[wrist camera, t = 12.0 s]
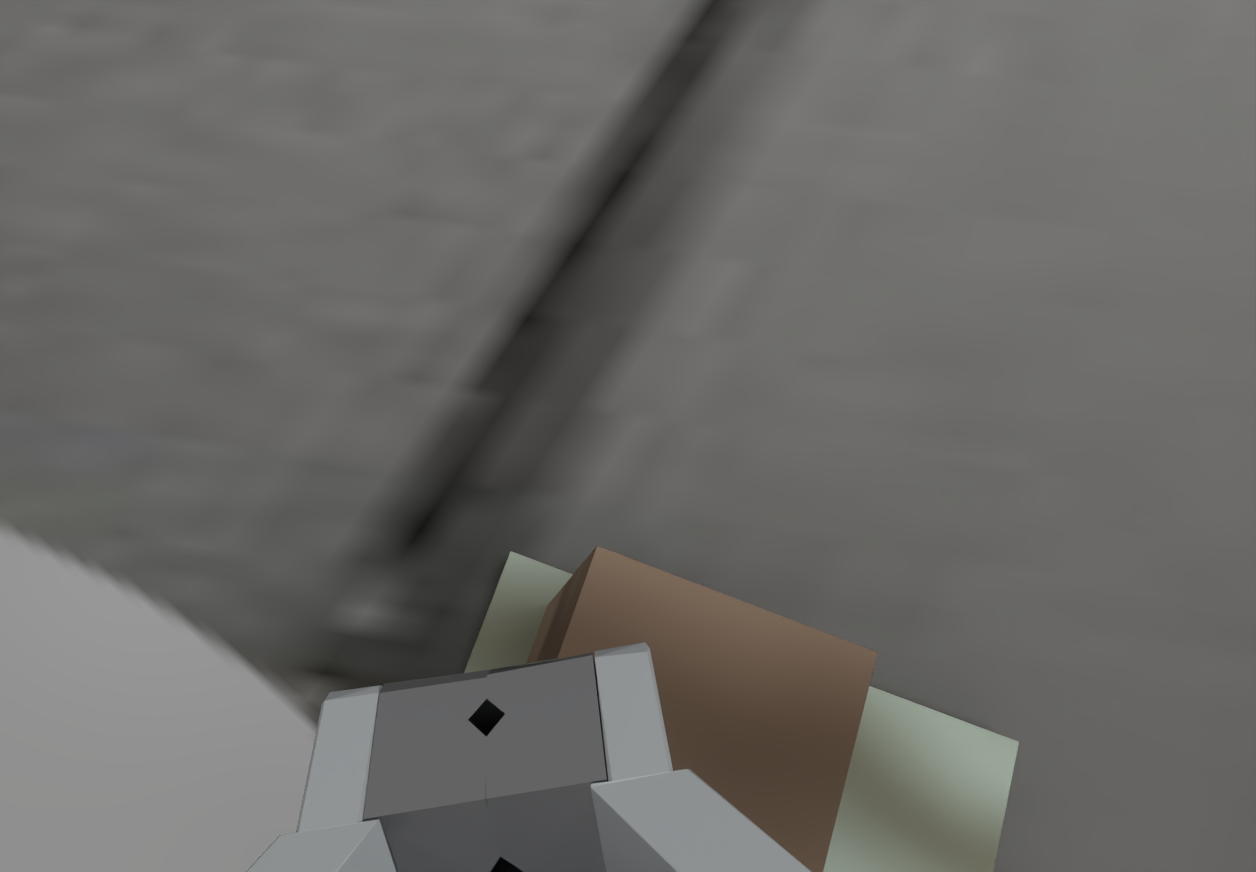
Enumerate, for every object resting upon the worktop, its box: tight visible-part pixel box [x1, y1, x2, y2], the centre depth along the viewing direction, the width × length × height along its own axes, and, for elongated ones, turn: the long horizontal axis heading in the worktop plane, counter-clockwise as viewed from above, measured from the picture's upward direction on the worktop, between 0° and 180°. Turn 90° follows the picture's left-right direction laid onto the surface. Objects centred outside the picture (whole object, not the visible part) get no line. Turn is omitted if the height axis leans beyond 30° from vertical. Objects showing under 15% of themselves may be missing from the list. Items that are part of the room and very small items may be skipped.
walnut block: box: [526, 546, 878, 872], centre depth 24 cm, size 5×6×8 cm
